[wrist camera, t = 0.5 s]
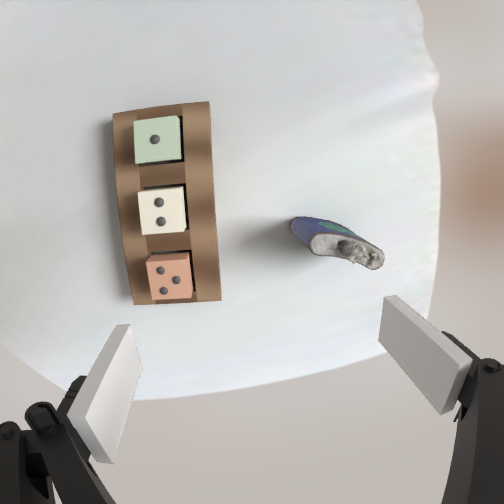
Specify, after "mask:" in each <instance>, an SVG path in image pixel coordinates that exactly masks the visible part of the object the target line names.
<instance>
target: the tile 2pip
mask: <svg viewBox="0 0 504 504" xmlns="http://www.w3.org/2000/svg"><path fill="white" fill-rule="evenodd" d="M138 202H139V212H140V221H141V229H142V235H147V234H159V233H172V232H184V230H185V228H186V218H185V206H184V192H183V186H182V187H171V188H160V189H151V190H143V191H140V192H138Z"/></svg>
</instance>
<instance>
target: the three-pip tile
mask: <svg viewBox="0 0 504 504" xmlns="http://www.w3.org/2000/svg"><path fill="white" fill-rule="evenodd" d="M146 266H147V272H148V278H149V284H150V290H151V296H152V300H161V299H181V298H191V296H192V291H193V285H192V277H191V268H190V259H189V253H175V254H161V255H151V256H150V257H149V259H148V260H147V261H146Z"/></svg>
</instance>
